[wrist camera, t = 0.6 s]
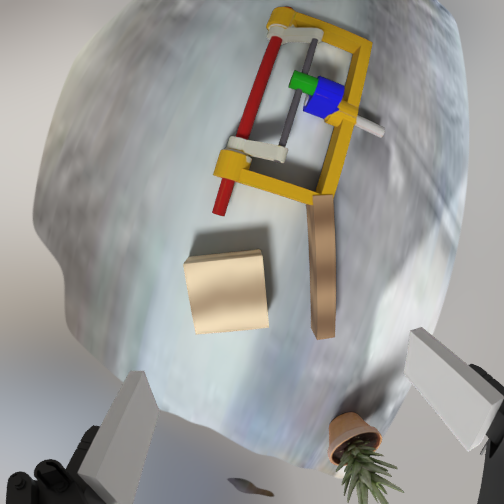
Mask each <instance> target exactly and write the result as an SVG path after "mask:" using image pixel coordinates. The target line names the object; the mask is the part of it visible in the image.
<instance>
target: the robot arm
mask: <svg viewBox="0 0 504 504" xmlns="http://www.w3.org/2000/svg"><path fill="white" fill-rule="evenodd" d="M404 375H405V376H406V377H407V378H408V380H409V381H410V382H411V383H412V384H413V385H414V387H415V388H416V389H417V390H418V391H419V393H420V394H421V395H422V396H423V397H424V399H425V400H426V401H427V402H428V403H429V404H430V406H431V407H432V408H433V409H434V411H435V412H436V413H437V414H438V415H439V417H440V418H441V419H442V420H443V422H444V423H445V424H446V425H447V427H448V428H449V429H450V430H451V432H452V433H453V434H454V435H455V437H456V438H457V439H458V440H459V442H460V443H461V444H462V445H463V446H464V448H465V449H466V450H467V452H468V451H470V450H472V449H473V448H475V447H476V446H478V445H479V444H481V442H482V440H483V438H484V437H485V435H487V436H488V438H489V439H488V441H487V442H486V444H485V446H484V448H483V449H482V451H481V453H480V455H482V454H483V452H484V451H485V450H486V454H485V463H484V471H483V477H482V484H481V489H480V494H479V498H478V503H477V504H504V387H503V386H502V385H501V384H500V383H499V382H498V381H496V380H495V379H493V377H492V376H491V375H489V374H487V372H486V371H484V370H483V369H482V368H481V367H479V366H476V365H474V364H470V365H467V364H466V363H465V362H464V361H462V360H461V359H460V358H459V357H458V356H457V355H455V354H454V353H453V352H452V351H450V350H449V349H448V348H447V347H446V346H444V345H443V344H442V343H441V342H439V341H438V340H437V339H436V338H435V337H433V336H432V335H431V334H430V333H428V332H427V331H426V330H425V329H423V328H422V327H421V328H417V329H414V330H411V331H410V335H409V343H408V350H407V356H406V362H405V368H404ZM159 414H160V410H159V408H158V406H157V403H156V401H155V398H154V396H153V393H152V391H151V388H150V385H149V383H148V380H147V377H146V375H145V372H144V371H130V372H129V374H128V376H127V377H126V379H125V381H124V383H123V385H122V387H121V389H120V390H119V392H118V394H117V396H116V398H115V399H114V401H113V403H112V405H111V407H110V409H109V411H108V413H107V415H106V417H105V418H104V420H103V422H102V424H101V426H94V425H93V426H92V427H91V428H90V429H89V430H87V431H86V432H85V434H84V436H83V437H82V439H81V442H80V443H79V445H78V447H77V449H76V450H75V452H74V454H73V456H72V458H71V460H70V462H69V464H68V466H67V468H66V469H65V468H64V467H63V466H62V465H61V463H59V462H58V461H56V460H52V459H49V460H44V461H42V462H40V463H39V464H38V465H37V466H36V468H35V470H34V476H35V477H36V478H37V480H33V479H32V478H31V477H30V476H29V475H28V474H26V473H25V472H16V473H14V474H12V475H11V476H10V478H9V479H8V484H7V493H6V504H133V502H134V498H135V495H136V491H137V488H138V484H139V480H140V477H141V473H142V470H143V466H144V463H145V460H146V456H147V453H148V449H149V446H150V443H151V440H152V436H153V433H154V430H155V427H156V423H157V420H158V417H159Z"/></svg>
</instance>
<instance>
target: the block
mask: <svg viewBox="0 0 504 504" xmlns="http://www.w3.org/2000/svg"><path fill="white" fill-rule="evenodd" d="M183 266H184V272H185V278H186V284H187V290H188V295H189V301H190V306H191V311H192V317H193V322H194V327H195V332H196V334H207V333H219V332H231V331H241V330H251V329H260V328H268V327H269V322H268V311H267V300H266V289H265V278H264V267H263V256H262V253H261V250H260V249H256V250H247V251H237V252H228V253H219V254H210V255H200V256H191V257H188V258H187V260H186V261H185V262H184V264H183Z"/></svg>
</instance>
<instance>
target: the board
mask: <svg viewBox="0 0 504 504" xmlns="http://www.w3.org/2000/svg"><path fill="white" fill-rule="evenodd" d="M312 197H313V205H308V204H306V208H307V223H308V241H309V263H310V293H311V329H312V331H313V333H314V335H315V337H316V339H317V340H320V339H327V338H333V337H335V316H336V253H335V224H334V205H333V195H320V196H312Z"/></svg>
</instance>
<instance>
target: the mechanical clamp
mask: <svg viewBox="0 0 504 504" xmlns="http://www.w3.org/2000/svg"><path fill="white" fill-rule="evenodd" d="M266 27H267V30H268V34H267V39H268V40H269V41H270V42H269V44H268V47H267V49H266V52H265V55H264V57H263V60H262V62H261V65H260V68H259V71H258V73H257V76H256V79H255V81H254V84H253V87H252V90H251V93H250V95H249V98H248V101H247V104H246V107H245V110H244V113H243V116H242V119H241V122H240V125H239V128H238V131H237V134H236V137H233V136H231V137H230V138H229V141H228V144H227V147H226V148H225V149H224V150H221V151H220V154H219V157H218V161H217V164H216V167H215V170H214V173H213V175H214V176H217V177H221V178H222V181H221V184H220V187H219V191H218V194H217V197H216V201H215V204H214V208H213V211H212V213H214V214H217V215H220V216H225V213H226V209H227V206H228V203H229V199H230V196H231V193H232V189H233V186H234V183H235V182H238V183H241V184H245V185H248V186H251V187H255V188H258V189H261V190H265V191H268V192H271V193H274V194H277V195H280V196H283V197H287V198H290V199H293V200H296V201H299V202H302V203H305V204H308V205H313V197H312V196H320V195H333V198H334V195H335V191H336V188H337V185H338V181H339V178H340V175H341V171H342V168H343V164H344V161H345V157H346V153H347V150H348V146H349V142H350V139H351V135H352V131H353V127H354V126H357V127H359V128H361V129H363V130H365V131H367V132H370V133H372V134H374V135H376V136H378V137H380V138H381V137H382V136H383V135H384V132H385V128H384V127H382V126H380V125H378V124H376V123H374V122H372V121H370V120H368V119H365V118H363V117H361V116H359V115H358V107H359V103H360V99H361V95H362V90H363V86H364V82H365V77H366V73H367V68H368V63H369V58H370V53H371V48H372V42H370V41H368V40H366V39H364V38H362V37H360V36H358V35H355V34H353V33H351V32H349V31H346V30H344V29H342V28H339V27H337V26H334V25H332V24H329V23H327V22H324V21H321V20H319V19H316V18H313V17H310V16H307V15H304V14H301V13H298V12H296V11H294V10H293V9H292V8H291V7H277V8H275V9H274V10H273V12H272V14H271V16H270V19H269V21H268V23H267V26H266ZM321 41H323V42H326V43H328V44H331V45H333V46H336V47H338V48H341V49H343V50H345V51H347V52H350V53H352V54H353V56H352V60H351V65H350V69H349V73H348V77H347V81H346V85H345V87H344V86H343V85H341V84H339V83H336V82H334V81H331V80H329V79H326V78H324V77H321V76H318V77H317V78H315V77H313V76H310V75H308V72H309V69H310V66H311V62H312V59H313V56H314V53H315V49H316V46H317V43H321ZM287 42H301V43H311V44H310V47H309V50H308V53H307V56H306V60H305V63H304V66H303V69H302V72H299V71H296V70H294V72H293V75H292V77H291V80H290V83H289V88H292V89H294V90H296V91H295V94H294V97H293V100H292V104H291V107H290V110H289V113H288V116H287V119H286V123H285V126H284V129H283V132H282V135H281V139H280V142H279V145H273V144H268V143H262V142H257V141H251V140H248V139H249V135H250V132H251V129H252V126H253V123H254V120H255V117H256V114H257V111H258V108H259V105H260V102H261V99H262V97H263V94H264V91H265V88H266V85H267V82H268V79H269V76H270V74H271V71H272V68H273V65H274V62H275V60H276V57H277V54H278V51H279V49H280V46H281V45H283V44H286V43H287ZM302 92H303V93H306V94H308V95H307V97H306V99H305V102H304V107H303V111H304V112H307V113H310V114H312V115H315V116H318V117H320V118H323V119H324V121H325V123H328V124H330V125H333V126H334V130H333V133H332V137H331V140H330V144H329V147H328V151H327V154H326V158H325V161H324V164H323V168H322V171H321V175H320V178H319V181H318V185H317V188H316V191H315V192H313V191H310V190H307V189H305V188H302V187H299V186H296V185H293V184H290V183H287V182H284V181H281V180H278V179H274V178H271V177H268V176H265V175H262V174H258V173H255V172H252V171H249V168H250V165H251V161H252V158H250V156H253V157H258V158H262V159H267V160H271V161H274V162H277V163H284V162H285V158H286V155H287V152H288V149H287V148H285V146H286V143H287V140H288V137H289V133H290V130H291V127H292V124H293V121H294V117H295V114H296V111H297V108H298V104H299V101H300V98H301V95H302Z"/></svg>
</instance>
